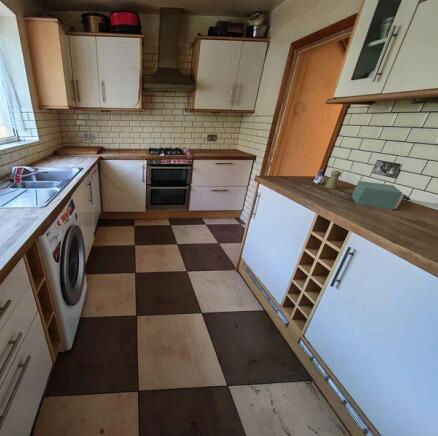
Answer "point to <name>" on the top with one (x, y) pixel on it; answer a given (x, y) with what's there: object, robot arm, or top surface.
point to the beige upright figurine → (333, 179)
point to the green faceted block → (376, 195)
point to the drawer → (400, 199)
